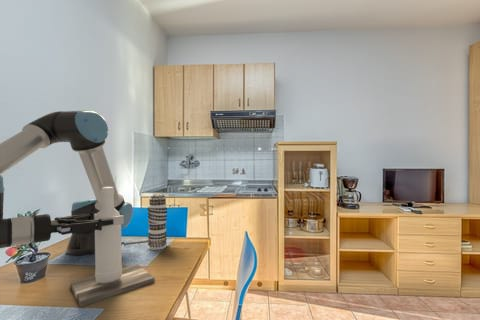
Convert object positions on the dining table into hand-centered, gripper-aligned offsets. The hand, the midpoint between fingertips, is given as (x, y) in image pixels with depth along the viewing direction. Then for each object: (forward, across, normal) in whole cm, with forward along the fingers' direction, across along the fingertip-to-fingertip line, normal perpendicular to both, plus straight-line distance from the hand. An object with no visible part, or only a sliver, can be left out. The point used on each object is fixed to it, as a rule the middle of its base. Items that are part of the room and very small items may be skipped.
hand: (118, 217), depth 86 cm
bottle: (-3, 0, -20) cm, 20 cm away
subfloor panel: (-1, 0, -22) cm, 22 cm away
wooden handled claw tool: (+23, -35, -23) cm, 48 cm away
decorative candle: (+26, -25, -22) cm, 42 cm away
